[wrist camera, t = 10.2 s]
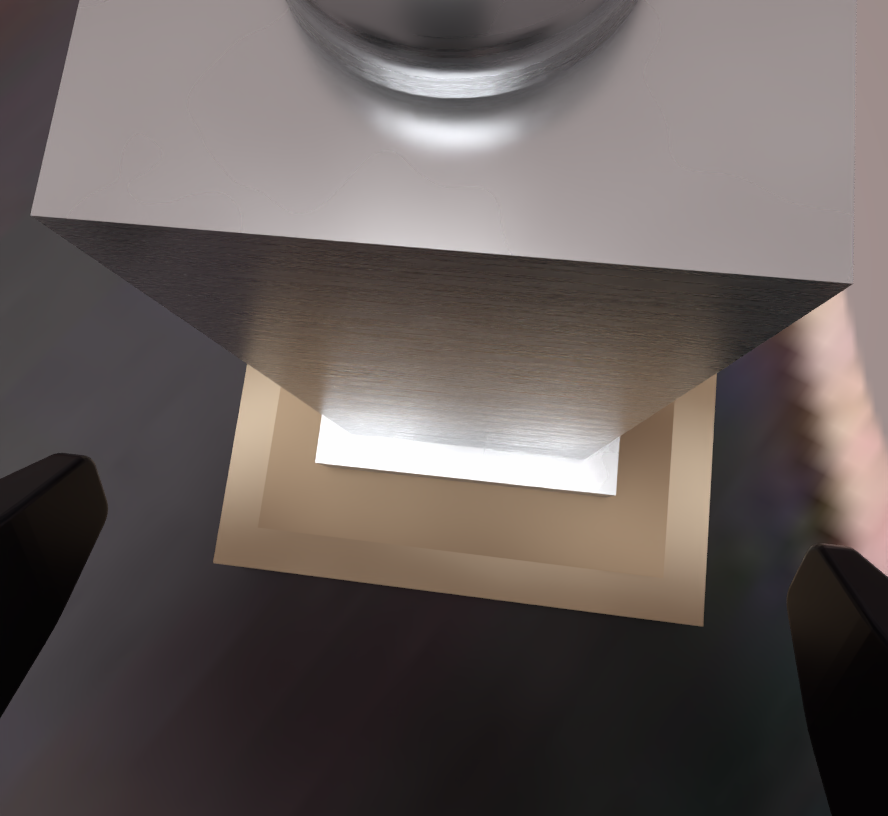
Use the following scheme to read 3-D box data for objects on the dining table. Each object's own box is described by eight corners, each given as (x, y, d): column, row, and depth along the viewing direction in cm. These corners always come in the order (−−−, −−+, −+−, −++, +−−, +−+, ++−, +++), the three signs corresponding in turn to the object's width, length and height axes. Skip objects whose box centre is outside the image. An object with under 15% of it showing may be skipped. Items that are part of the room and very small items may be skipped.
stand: (678, 615, 18) (703, 627, 16) (241, 559, 19) (212, 563, 17) (703, 196, 20) (728, 158, 18) (307, 163, 21) (287, 124, 19)
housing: (606, 497, 16) (1064, 392, 3) (326, 466, 17) (-184, 277, 4) (624, 247, 18) (1026, -546, 5) (361, 226, 18) (47, -537, 5)
